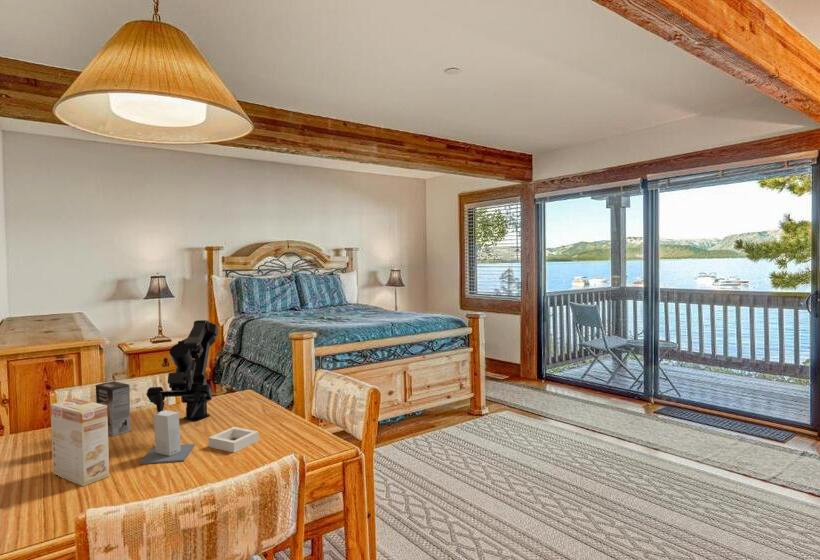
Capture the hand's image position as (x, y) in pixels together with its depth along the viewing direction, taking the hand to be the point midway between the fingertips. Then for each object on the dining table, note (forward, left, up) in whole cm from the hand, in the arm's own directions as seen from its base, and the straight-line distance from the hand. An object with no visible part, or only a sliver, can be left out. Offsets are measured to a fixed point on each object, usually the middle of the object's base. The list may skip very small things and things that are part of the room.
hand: (175, 418), depth 152 cm
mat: (+6, +4, -9) cm, 11 cm away
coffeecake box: (+26, -5, -9) cm, 28 cm away
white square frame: (-8, +16, -8) cm, 20 cm away
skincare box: (+6, +4, -8) cm, 11 cm away
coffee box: (+1, -29, -9) cm, 30 cm away
